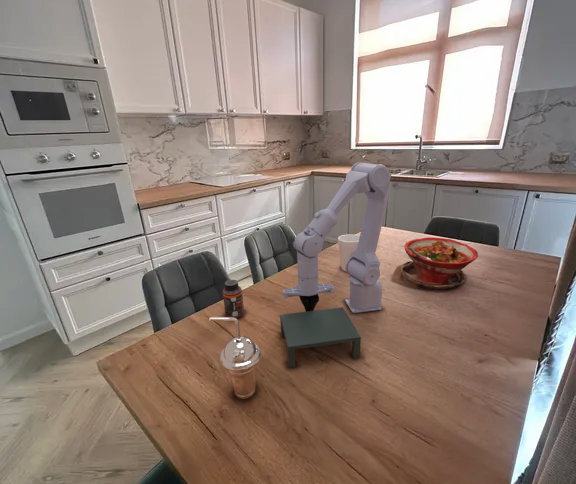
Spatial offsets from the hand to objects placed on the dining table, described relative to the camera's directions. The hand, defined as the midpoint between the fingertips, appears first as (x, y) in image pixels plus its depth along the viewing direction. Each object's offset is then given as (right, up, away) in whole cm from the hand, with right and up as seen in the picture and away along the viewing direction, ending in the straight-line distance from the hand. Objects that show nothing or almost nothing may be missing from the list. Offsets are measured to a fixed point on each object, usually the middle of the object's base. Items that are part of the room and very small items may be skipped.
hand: (308, 315), depth 92 cm
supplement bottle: (-23, -1, +6) cm, 24 cm away
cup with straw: (-16, -13, -23) cm, 30 cm away
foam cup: (+19, +13, +34) cm, 41 cm away
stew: (+46, +9, +22) cm, 52 cm away
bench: (+2, -6, -9) cm, 11 cm away
